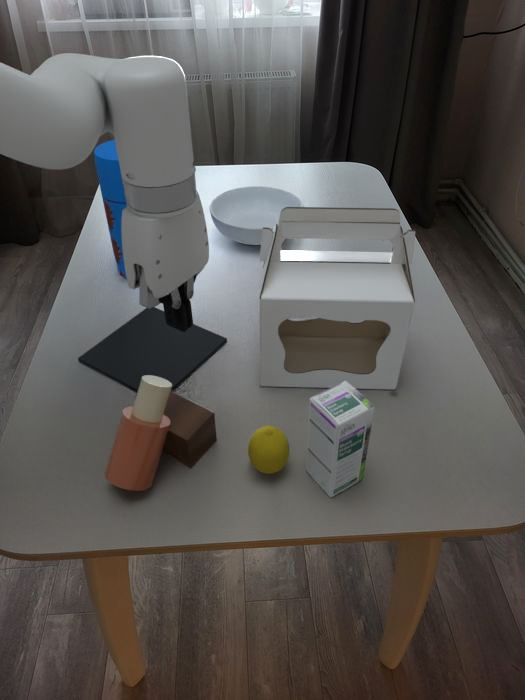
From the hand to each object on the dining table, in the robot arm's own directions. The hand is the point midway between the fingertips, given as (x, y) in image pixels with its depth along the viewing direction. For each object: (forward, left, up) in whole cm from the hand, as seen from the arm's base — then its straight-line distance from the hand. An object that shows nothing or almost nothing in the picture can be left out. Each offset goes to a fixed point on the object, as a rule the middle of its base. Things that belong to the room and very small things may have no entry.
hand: (179, 325), depth 71 cm
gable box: (+10, +24, -19) cm, 32 cm away
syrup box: (+22, +4, -19) cm, 29 cm away
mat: (-16, +10, -19) cm, 27 cm away
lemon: (+14, 0, -19) cm, 24 cm away
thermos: (-36, +29, -19) cm, 50 cm away
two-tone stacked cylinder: (0, -10, -19) cm, 22 cm away
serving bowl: (-24, +54, -19) cm, 62 cm away
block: (0, -3, -19) cm, 19 cm away
